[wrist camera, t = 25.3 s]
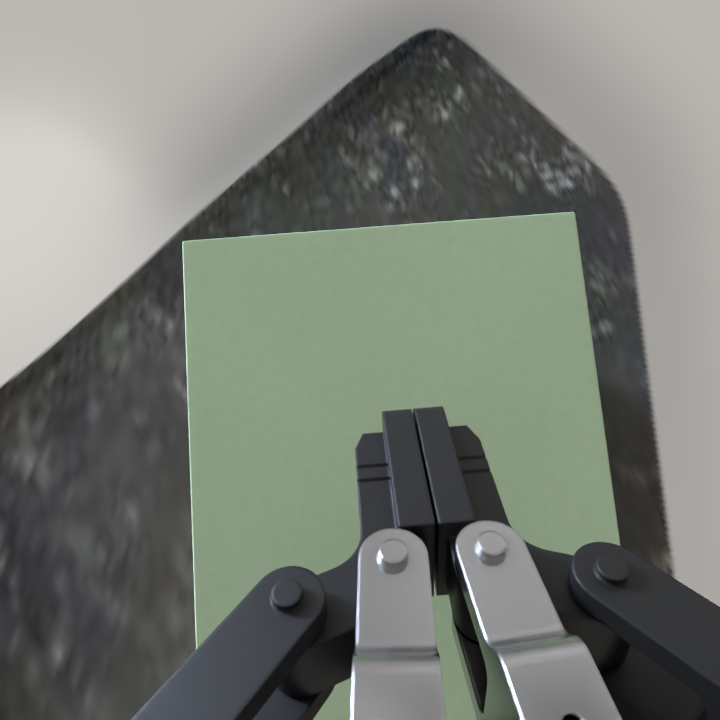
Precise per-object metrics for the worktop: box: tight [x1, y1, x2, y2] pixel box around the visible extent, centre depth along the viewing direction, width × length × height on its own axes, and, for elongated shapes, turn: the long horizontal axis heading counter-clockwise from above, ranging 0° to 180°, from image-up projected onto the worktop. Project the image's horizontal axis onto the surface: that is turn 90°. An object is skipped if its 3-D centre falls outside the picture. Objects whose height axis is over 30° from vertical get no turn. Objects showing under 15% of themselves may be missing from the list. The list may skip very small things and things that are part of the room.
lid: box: [182, 212, 620, 720], centre depth 19 cm, size 17×14×1 cm
